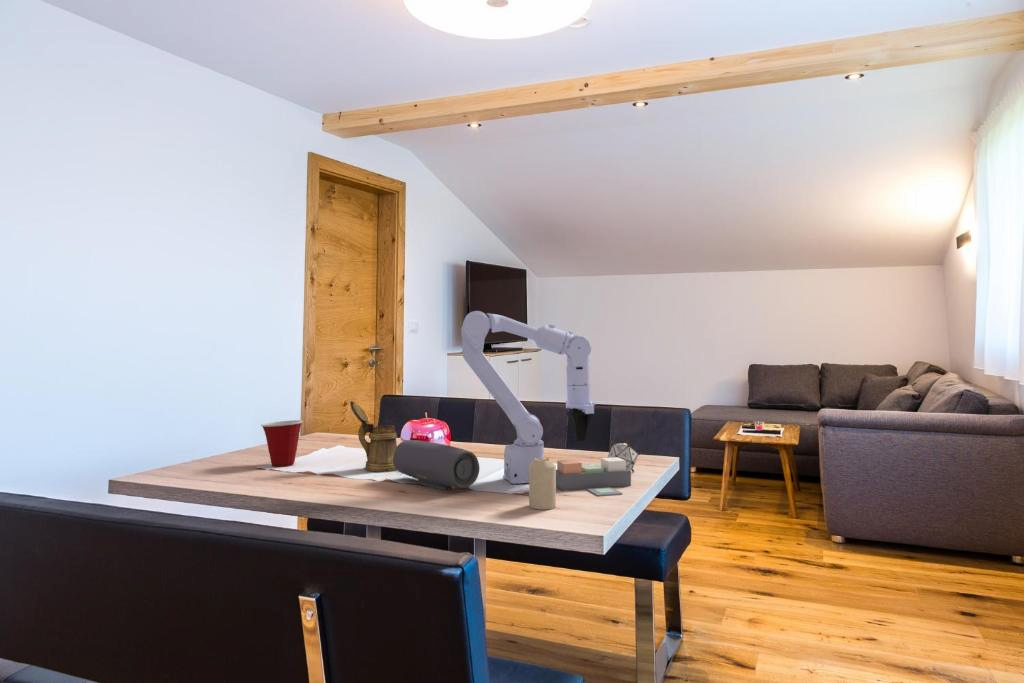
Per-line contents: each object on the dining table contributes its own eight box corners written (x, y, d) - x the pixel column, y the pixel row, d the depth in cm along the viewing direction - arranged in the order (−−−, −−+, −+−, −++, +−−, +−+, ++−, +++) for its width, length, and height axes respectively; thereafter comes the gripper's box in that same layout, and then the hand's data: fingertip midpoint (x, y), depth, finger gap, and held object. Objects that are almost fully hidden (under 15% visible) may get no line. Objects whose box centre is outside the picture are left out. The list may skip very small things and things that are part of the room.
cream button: (608, 474, 157) (608, 461, 157) (600, 470, 162) (601, 458, 162) (625, 473, 159) (625, 460, 159) (617, 469, 163) (617, 457, 163)
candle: (554, 503, 142) (554, 455, 142) (557, 509, 136) (557, 460, 136) (528, 503, 141) (528, 456, 141) (529, 510, 136) (529, 460, 136)
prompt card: (597, 496, 148) (597, 494, 148) (587, 490, 153) (587, 488, 153) (622, 494, 149) (622, 492, 149) (611, 488, 155) (611, 486, 155)
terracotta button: (563, 477, 154) (563, 464, 154) (557, 473, 158) (557, 460, 158) (581, 475, 155) (581, 463, 155) (574, 472, 160) (574, 459, 160)
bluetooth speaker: (481, 490, 154) (481, 446, 154) (450, 496, 147) (450, 451, 147) (421, 475, 170) (421, 435, 170) (391, 480, 164) (391, 439, 163)
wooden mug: (356, 464, 184) (355, 399, 183) (404, 465, 182) (404, 399, 182) (344, 471, 175) (344, 402, 175) (395, 472, 173) (395, 402, 173)
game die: (629, 487, 172) (645, 460, 167) (598, 475, 172) (612, 448, 167) (631, 465, 180) (646, 438, 174) (601, 453, 180) (615, 426, 174)
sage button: (586, 482, 156) (586, 469, 156) (579, 478, 160) (579, 465, 160) (603, 480, 157) (603, 468, 157) (596, 477, 161) (596, 464, 161)
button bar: (561, 490, 153) (561, 475, 153) (552, 484, 159) (552, 469, 159) (630, 485, 158) (630, 470, 158) (619, 480, 164) (619, 465, 164)
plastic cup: (281, 460, 190) (280, 417, 190) (311, 462, 186) (311, 419, 186) (252, 466, 180) (252, 422, 180) (283, 470, 176) (283, 424, 176)
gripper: (605, 385, 158) (607, 443, 158) (583, 382, 172) (585, 435, 172) (577, 387, 156) (579, 445, 157) (557, 383, 170) (559, 437, 171)
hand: (580, 440), depth 164 cm, fingers closed
